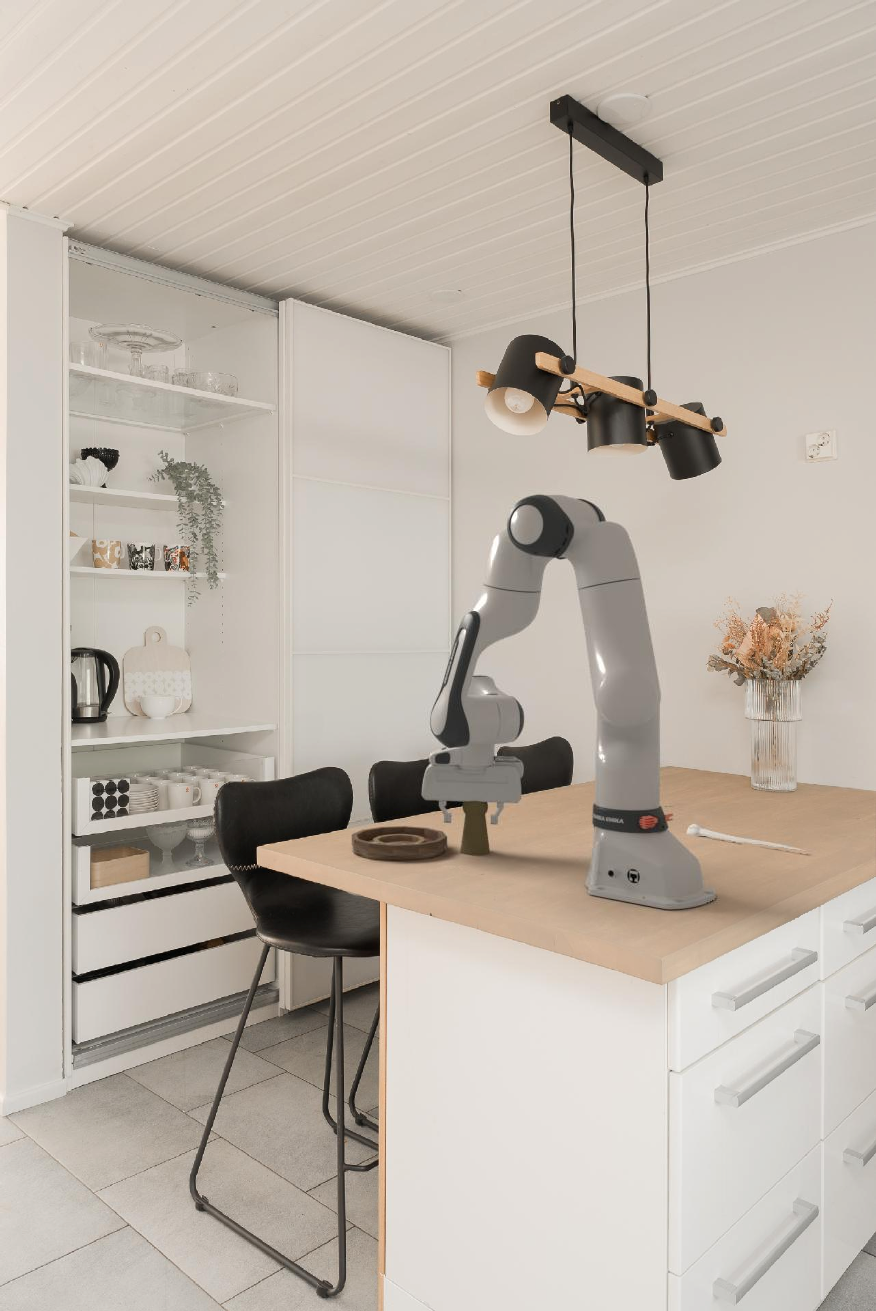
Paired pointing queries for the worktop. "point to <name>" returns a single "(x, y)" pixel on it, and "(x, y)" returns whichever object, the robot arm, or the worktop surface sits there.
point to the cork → (475, 829)
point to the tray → (399, 843)
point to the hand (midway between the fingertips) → (470, 823)
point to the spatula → (729, 837)
